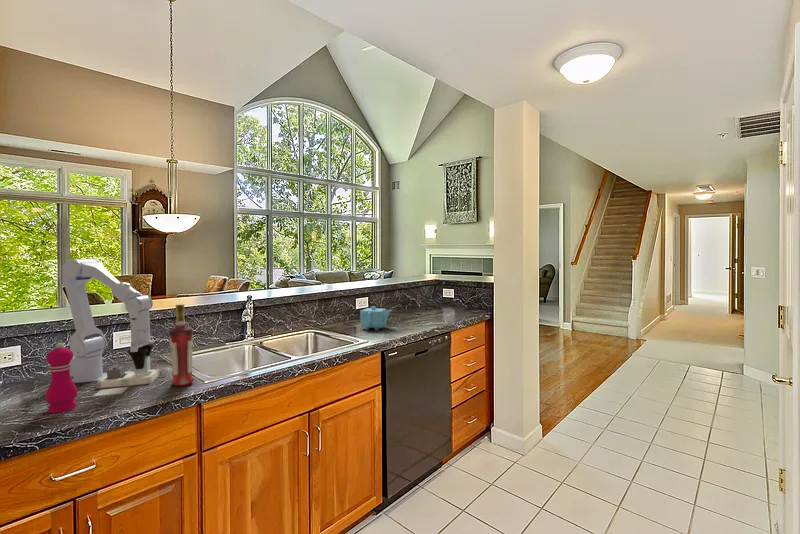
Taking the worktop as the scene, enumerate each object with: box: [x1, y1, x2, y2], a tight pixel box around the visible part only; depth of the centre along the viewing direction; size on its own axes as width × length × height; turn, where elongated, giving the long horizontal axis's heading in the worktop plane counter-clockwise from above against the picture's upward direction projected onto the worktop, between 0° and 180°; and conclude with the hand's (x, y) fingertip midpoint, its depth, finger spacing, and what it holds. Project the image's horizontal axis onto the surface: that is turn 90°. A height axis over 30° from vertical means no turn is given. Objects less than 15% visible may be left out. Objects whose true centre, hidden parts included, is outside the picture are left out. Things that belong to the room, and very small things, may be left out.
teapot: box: [360, 305, 393, 331], centre depth 228 cm, size 18×16×13 cm
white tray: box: [96, 364, 160, 389], centre depth 139 cm, size 16×10×6 cm, turn 107°
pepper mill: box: [45, 342, 79, 414], centre depth 115 cm, size 7×7×20 cm
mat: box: [93, 386, 129, 397], centre depth 129 cm, size 8×6×1 cm
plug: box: [133, 355, 152, 373], centre depth 140 cm, size 4×4×6 cm
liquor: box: [168, 303, 195, 388], centre depth 136 cm, size 7×7×28 cm
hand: (142, 366), depth 140 cm, fingers closed on plug, 4 cm apart
